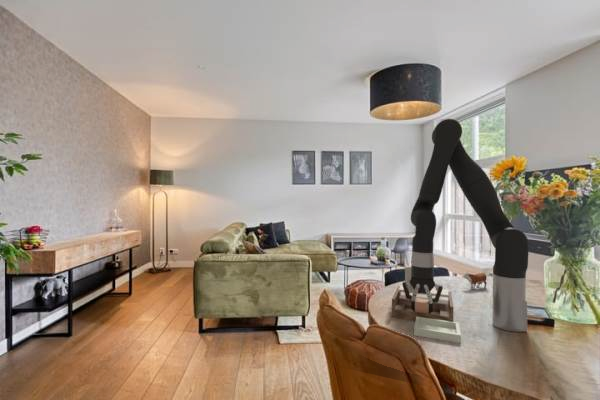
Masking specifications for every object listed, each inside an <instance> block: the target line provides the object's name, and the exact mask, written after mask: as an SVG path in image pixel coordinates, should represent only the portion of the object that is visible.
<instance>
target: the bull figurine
mask: <svg viewBox="0 0 600 400" xmlns="http://www.w3.org/2000/svg"><path fill="white" fill-rule="evenodd" d="M462 278H463V279H466V280H467V281H468V282H469V284H470V289H472V290H473V291H475V290H476V288H479V287H480V285H482V284H483V285H484V286H483V289H487V278H488V277H487V274H486V273H484V272H481V273H473V272H468V271H467V272H465V273H463V276H462ZM476 284H477V285H476Z"/></svg>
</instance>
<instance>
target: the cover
mask: <svg viewBox="0 0 600 400" xmlns="http://www.w3.org/2000/svg"><path fill="white" fill-rule="evenodd" d="M410 279H411V265H405V266H404V281H410ZM399 286H400V288H399V292H401V293H405V292H404V289H403V285H402V284H400V285H399ZM408 290H409V294H413V292H414V289H413V287H412V286H411V284H409V287H408ZM430 292H431V296H432V297H433V296H434V297H435V296H436V293H437V291H436V288H435V287H433V289H432V290H431V291H430ZM448 293H449V289H446V288H443V289H442V292H441V295H440V298H441V297H442V298H448V297H449V294H448ZM417 295H422V296H423V295H425V296H427V294H424V293H417Z"/></svg>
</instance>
